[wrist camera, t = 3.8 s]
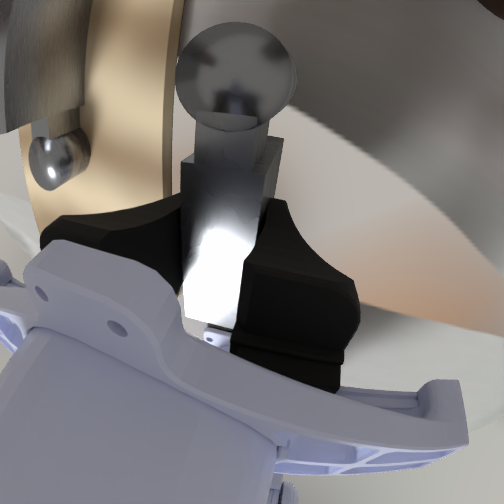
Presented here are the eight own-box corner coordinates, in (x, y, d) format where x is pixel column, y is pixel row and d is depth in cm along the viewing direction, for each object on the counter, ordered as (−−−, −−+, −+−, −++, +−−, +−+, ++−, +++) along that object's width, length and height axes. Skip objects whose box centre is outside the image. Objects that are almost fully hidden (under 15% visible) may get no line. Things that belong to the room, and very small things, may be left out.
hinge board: (177, 297, 18) (171, 307, 17) (57, 257, 19) (50, 264, 19) (192, -40, 6) (183, -46, 6) (32, 15, 8) (22, 16, 7)
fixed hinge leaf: (93, 175, 13) (27, 221, 9) (60, 172, 13) (-1, 212, 9) (98, -10, 7) (20, -17, 3) (60, 6, 7) (-12, 10, 3)
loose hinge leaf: (268, 260, 15) (249, 332, 11) (214, 248, 15) (178, 314, 11) (305, 52, 9) (300, 28, 5) (232, 43, 9) (180, 23, 5)
